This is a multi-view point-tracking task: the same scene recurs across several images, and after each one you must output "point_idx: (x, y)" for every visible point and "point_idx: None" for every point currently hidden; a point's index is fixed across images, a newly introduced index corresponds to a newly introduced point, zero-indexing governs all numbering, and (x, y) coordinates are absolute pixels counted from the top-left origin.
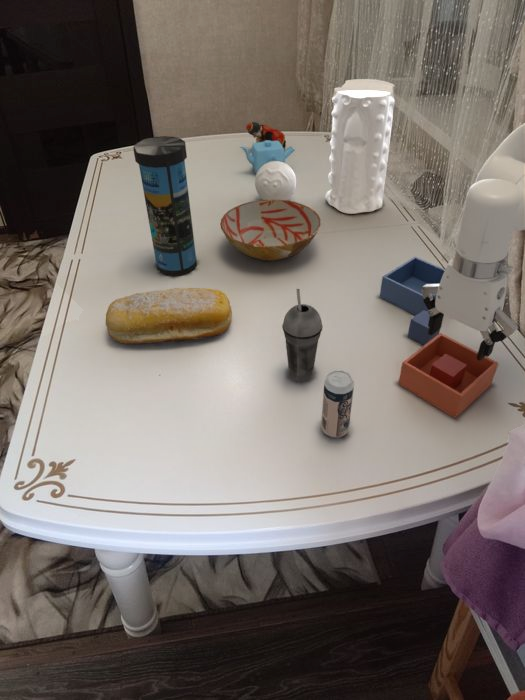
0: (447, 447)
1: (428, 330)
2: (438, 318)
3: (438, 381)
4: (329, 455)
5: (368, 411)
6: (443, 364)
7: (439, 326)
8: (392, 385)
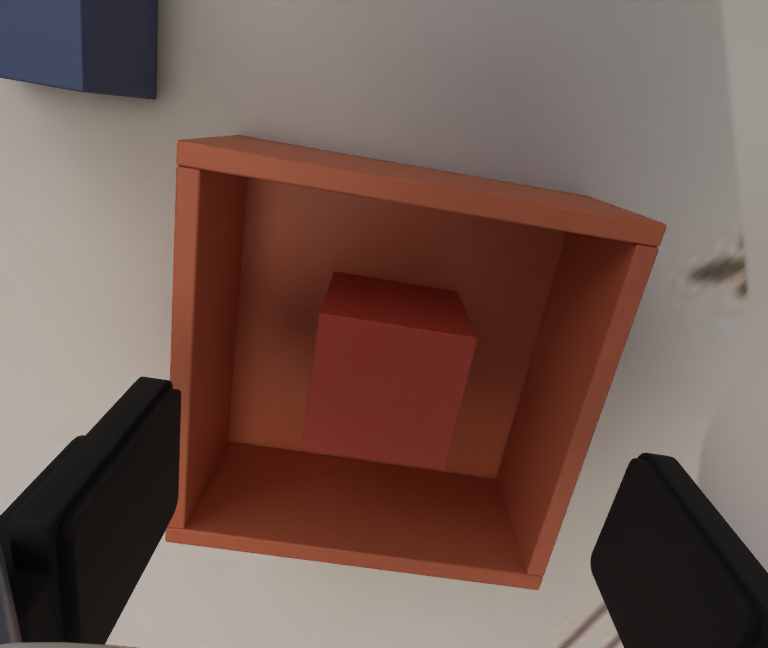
0: (525, 605)
1: (85, 90)
2: (97, 589)
3: (397, 564)
4: None
5: (216, 614)
6: (355, 414)
7: (163, 435)
8: None
